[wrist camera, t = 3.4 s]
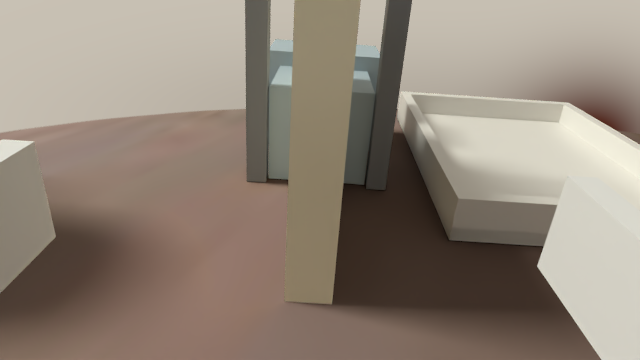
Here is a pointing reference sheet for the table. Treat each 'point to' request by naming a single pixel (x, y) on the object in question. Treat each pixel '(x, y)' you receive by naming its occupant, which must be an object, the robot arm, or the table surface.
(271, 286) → the table surface
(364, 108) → the door frame
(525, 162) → the tray
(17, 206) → the robot arm
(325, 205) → the cream rectangular board
